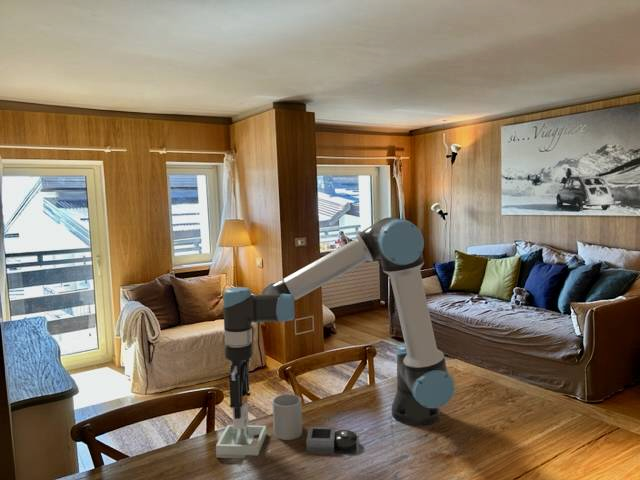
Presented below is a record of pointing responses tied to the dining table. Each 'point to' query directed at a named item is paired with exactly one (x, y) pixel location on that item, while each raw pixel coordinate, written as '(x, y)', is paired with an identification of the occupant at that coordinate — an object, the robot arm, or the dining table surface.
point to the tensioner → (331, 441)
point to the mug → (287, 417)
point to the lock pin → (242, 434)
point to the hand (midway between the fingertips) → (241, 423)
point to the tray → (229, 450)
